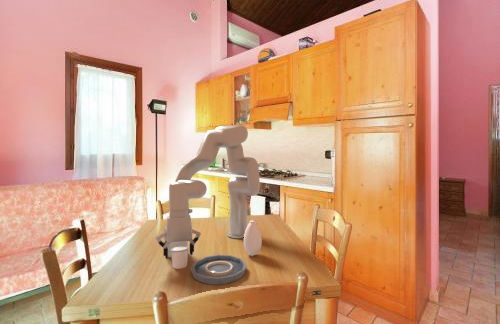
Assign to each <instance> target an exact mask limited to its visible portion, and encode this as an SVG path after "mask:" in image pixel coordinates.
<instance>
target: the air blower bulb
mask: <svg viewBox="0 0 500 324" xmlns="http://www.w3.org/2000/svg"><path fill="white" fill-rule="evenodd" d="M261 233H262V232H261V230H260V227H259V226H258V224H257V221H256V220H254V215H252V217H251V220H249V223H247V228H246V230H245V234H244V238H243V247H244V250H245V252H246V254H247V255H249V256H250V257H254V255H255V256H257V255H258V254H259V252H260V251H261V249H262V243H263V242H262V241H263V240H262V234H261Z"/></svg>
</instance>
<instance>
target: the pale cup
mask: <svg viewBox="0 0 500 324" xmlns="http://www.w3.org/2000/svg"><path fill="white" fill-rule="evenodd" d="M171 255H172V258H171V262H172V263H171V264H172V268H173V269H177V270H178V269H184V268H186V267H187V266H188V259H189V258H188V257H189V246H188V247H187V246H176V247H173V248H172V249H171Z"/></svg>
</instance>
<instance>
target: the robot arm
mask: <svg viewBox="0 0 500 324" xmlns="http://www.w3.org/2000/svg"><path fill="white" fill-rule="evenodd" d="M248 136H249V131H248V129H247V127H246V126H245V125H242V124H234V125H233V124H231V125H229V124H228V125H227V124H226V125H220V126H217V127H216V128H215V129H214V128H213V129H210V130H207V132H206V133H205V134H204V136H203V138H202V141H201V143H200V145H199V148H198V150H197V152H196V155H195V156H194V157H193V158H191V159H190V160H189V161H188V162H187V163H186V164H184V165H183V166H182V167H181V169H180V170H179V173H178V174H177V176H176V178H175V181H173V182H171V183H170V184H169V187H168V197H169V198H168V203H169V204H168V208H169V209H168V216H167V217H166V221H165V228H166V230H165V232H164V231H163V232H162V233H161V234H159V235H157V236H156V237H155V239H156V242H157V243H158V244H159V246H160V247H162V248H163V253H162V254H163V256H164V257H165V259H168V258H169V257H168V248H167V246H168V245H169V244H170V243H177V242H185V241H188V243H189V250H188V253H189V254H190V255H191V256H193V254H194V252H195V245H196V243H197V241H199V239H200V238H201V235H202V233H201V232H200V231H198V230H195V229H193V225H192V223H193V222H192V218H191V215H190V214H191V213H193V209H192V208H190V201H189V200H191V199H202V197H204V196H205V195H206V194H207V190H208V189H207V185H206V184H205V182H203V181H202V180H197V179H192V178H193V177H194V175H196V174H197V173H199V172H200V171H203V170H204V169H207V168H209V167H211V166H212V165H214V163H215V161H216V158H217V155H218V153H219V151H220V149H221V148H224V149H226V155H227V163H228V164H227V165H228V171H229V173H230V174H232V175H235V176H233V177H231V178H230V179H228V181H227V191H228V197H229V230H227V232H226V236H227V237H228V238H232V239H244V238H243V237H244V234H245V230H246V228H247V226H248V200H247V198H246V196H248V197H249V196H250V197H254V196H257V195H258V194H259V192H260V189H261V183H260V171H259V170H260V169H259V163H258V161H257V159H255V158H254V157H253V156H251V157H249V156H245V155H244V148H243V145H242V144H243V143H244V142H246V141H247V139H248ZM236 175H237V176H236ZM245 176H246V177H245ZM193 234H194V235H195V236H194V237H193ZM163 238H164V241H162V239H163ZM165 239H166V241H165Z"/></svg>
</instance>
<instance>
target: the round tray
mask: <svg viewBox="0 0 500 324" xmlns="http://www.w3.org/2000/svg"><path fill="white" fill-rule="evenodd" d="M246 268H247V263H245V261H244V260H243V259H242V258H240V257H237V256H234V255H229V254H215V255H208V256H207V255H206V256H204V257H202V258H200V259H197V260H196V261H195V262H194V263H193V264H192V266H191V273H192V274H191V275H192V278H193V279H194V280H195V281H198V282H199V283H201V284H206V285H212V286H213V285H215V286H216V285H219V286H221V285H227V284H230V283H231V284H232V283H234V282H237V281H239V280H240V279H242V277H244V276H245V274H246Z"/></svg>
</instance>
